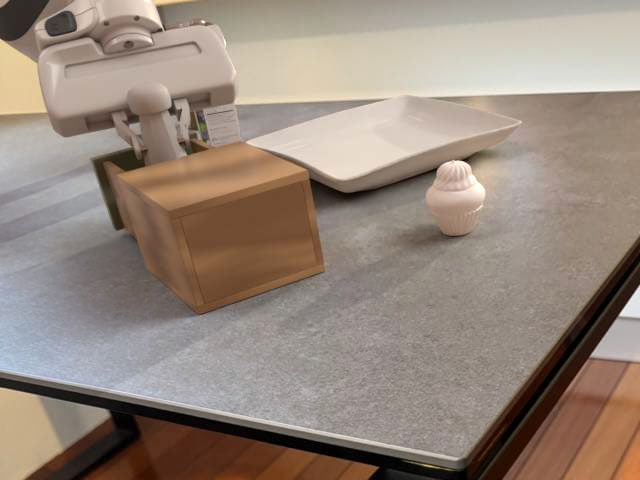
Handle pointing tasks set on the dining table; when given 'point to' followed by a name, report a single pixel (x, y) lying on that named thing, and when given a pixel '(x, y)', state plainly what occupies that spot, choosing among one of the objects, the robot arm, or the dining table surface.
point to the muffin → (455, 198)
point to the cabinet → (224, 223)
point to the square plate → (386, 141)
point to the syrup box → (218, 125)
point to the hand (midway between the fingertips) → (163, 151)
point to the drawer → (120, 163)
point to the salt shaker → (155, 122)
